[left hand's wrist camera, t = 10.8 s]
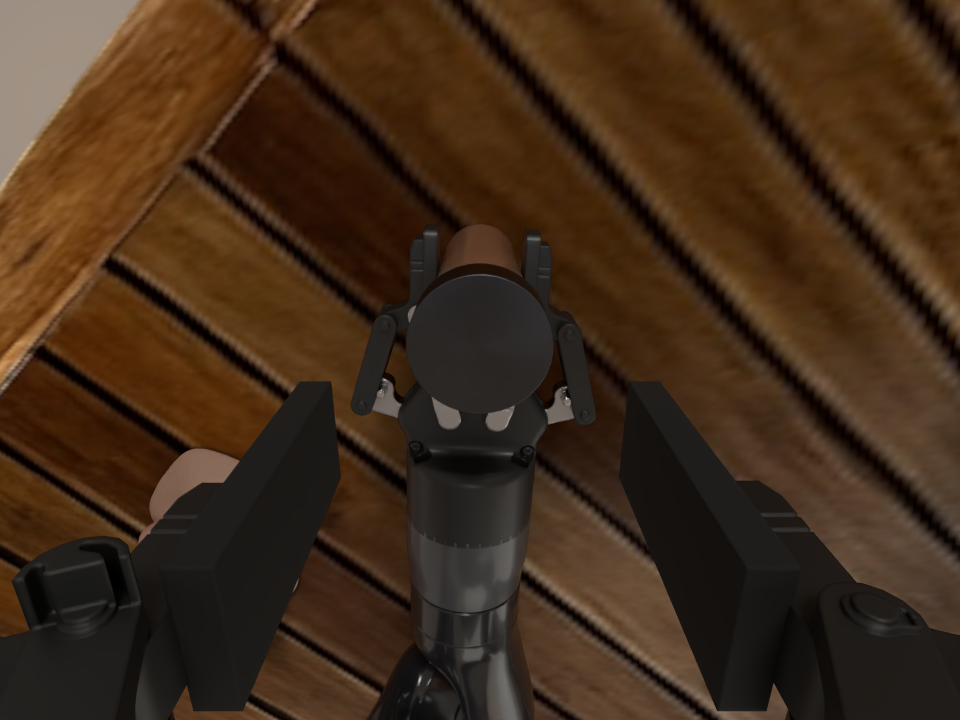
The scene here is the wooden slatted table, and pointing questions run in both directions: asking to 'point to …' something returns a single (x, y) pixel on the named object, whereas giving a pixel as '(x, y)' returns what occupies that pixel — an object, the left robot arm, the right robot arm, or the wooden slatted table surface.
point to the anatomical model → (188, 480)
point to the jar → (479, 249)
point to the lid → (479, 339)
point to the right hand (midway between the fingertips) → (481, 230)
